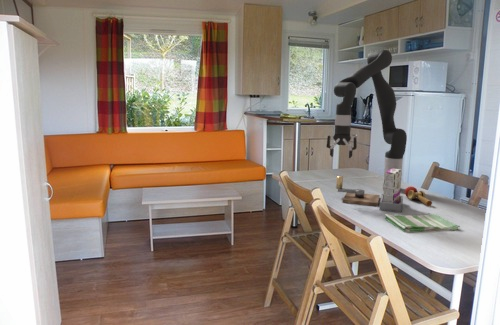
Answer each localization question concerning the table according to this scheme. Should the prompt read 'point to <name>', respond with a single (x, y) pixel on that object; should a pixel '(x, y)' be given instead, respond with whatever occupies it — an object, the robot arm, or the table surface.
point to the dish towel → (421, 223)
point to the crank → (339, 186)
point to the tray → (391, 205)
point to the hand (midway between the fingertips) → (340, 157)
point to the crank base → (362, 199)
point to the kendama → (417, 195)
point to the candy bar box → (392, 186)
